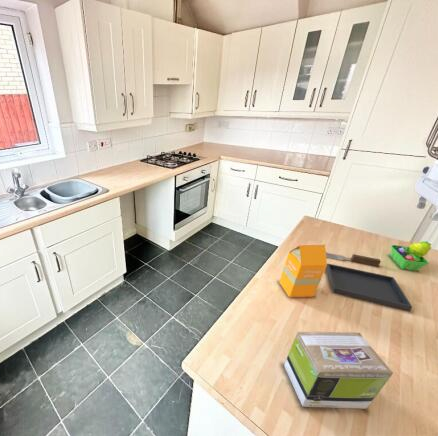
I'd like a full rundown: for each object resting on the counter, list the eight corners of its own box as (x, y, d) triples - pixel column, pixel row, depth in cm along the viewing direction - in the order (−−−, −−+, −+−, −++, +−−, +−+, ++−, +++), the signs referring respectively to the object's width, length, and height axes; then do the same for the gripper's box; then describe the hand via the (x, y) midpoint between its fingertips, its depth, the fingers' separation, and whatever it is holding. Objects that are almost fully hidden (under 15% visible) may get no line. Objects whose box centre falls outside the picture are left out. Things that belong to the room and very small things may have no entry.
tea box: (338, 366, 65) (361, 331, 58) (366, 410, 56) (397, 374, 49) (282, 365, 66) (297, 329, 59) (301, 408, 57) (321, 372, 50)
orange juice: (313, 296, 87) (333, 251, 77) (289, 297, 87) (305, 252, 77) (301, 281, 94) (318, 238, 84) (278, 281, 94) (292, 238, 84)
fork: (376, 263, 102) (379, 258, 101) (378, 267, 100) (381, 262, 98) (324, 253, 109) (326, 248, 107) (325, 256, 106) (328, 251, 105)
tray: (391, 281, 93) (393, 277, 92) (409, 311, 81) (412, 307, 80) (325, 267, 101) (326, 263, 100) (333, 292, 88) (334, 288, 87)
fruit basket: (384, 253, 108) (397, 232, 102) (409, 257, 105) (423, 235, 100) (399, 270, 98) (413, 247, 93) (427, 274, 96) (443, 251, 90)
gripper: (487, 187, 67) (457, 229, 74) (444, 167, 84) (423, 203, 90) (455, 184, 70) (429, 225, 76) (420, 165, 86) (401, 200, 93)
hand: (426, 213), depth 84 cm, fingers open, 8 cm apart
